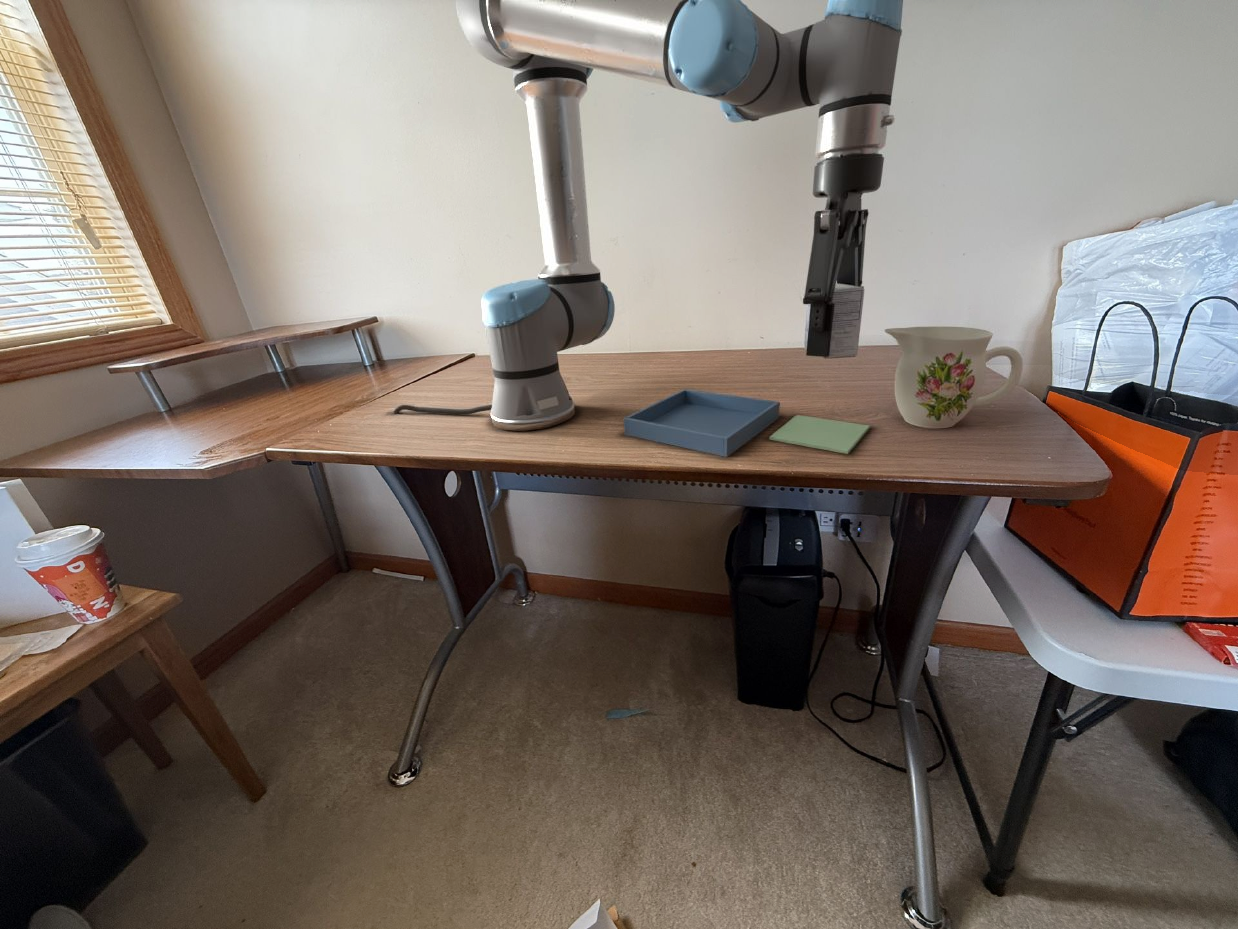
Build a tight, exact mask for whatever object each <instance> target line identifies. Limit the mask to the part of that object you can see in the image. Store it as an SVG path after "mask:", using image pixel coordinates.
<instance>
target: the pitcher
mask: <svg viewBox="0 0 1238 929" xmlns="http://www.w3.org/2000/svg"><path fill="white" fill-rule="evenodd" d="M884 332H885V333H886V334H887V335H889V336H891V337H892V338H893V339H894V340H896V343H897V344H898V346H899V349H900V352H901V355H900V357H899V360H898V362H897V365H896V370H895V375H894V397H895V402H896V406H897V409H898V412H899V413H900V415H901V416H902V418H903V420H904V421H905V422H906V423H908V424H909V425H912V426H916V427H918V428H919V427H920V428H925V429H948V428H952V427H954V426H955V425H956V424H958V423H959V422H960V421H961V420H963V418H965V417H966V415H967V414H968V413H969V412H970V411H971V409H976V408H981V407H986V406H989V405H992V404H995V403H997V402H1000V401H1001V400H1002V399H1004V398H1006V397H1007V396H1008V395H1009V394H1010V393H1012V391H1013V390H1015V388H1016V387H1017V386H1018V383H1019V381H1020V380H1021V376H1022V373H1023V368H1024V363H1023V362H1024V361H1023V358H1022V355H1021V353H1020V352H1019V351H1018V350H1017V349H1016V348H1014V347H1010V346H997V347H993V348H990V349H987V348H988V346H989V344H990V342H991V340H992V338H993V333H992V332H991V331H989V330H986V329H980V328H975V327H964V326H909V327H894V328H885V329H884ZM997 357H1007V358H1008V359H1009V362H1010V366H1011V367H1010V369H1011V370H1010V372H1009V375H1008V378H1007V380H1006V381H1005V383H1004V384H1003V385H1002V386H1001V387H1000V388H998V389H997V390H995V391H994V392H991V393H989V394H987V395H984V396H980V394H981V392H982V389H983V386H984V384H985V379H986V375H987V363H988V362H989V361H990V360H992V359H995V358H997ZM979 396H980V397H979Z"/></svg>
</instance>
